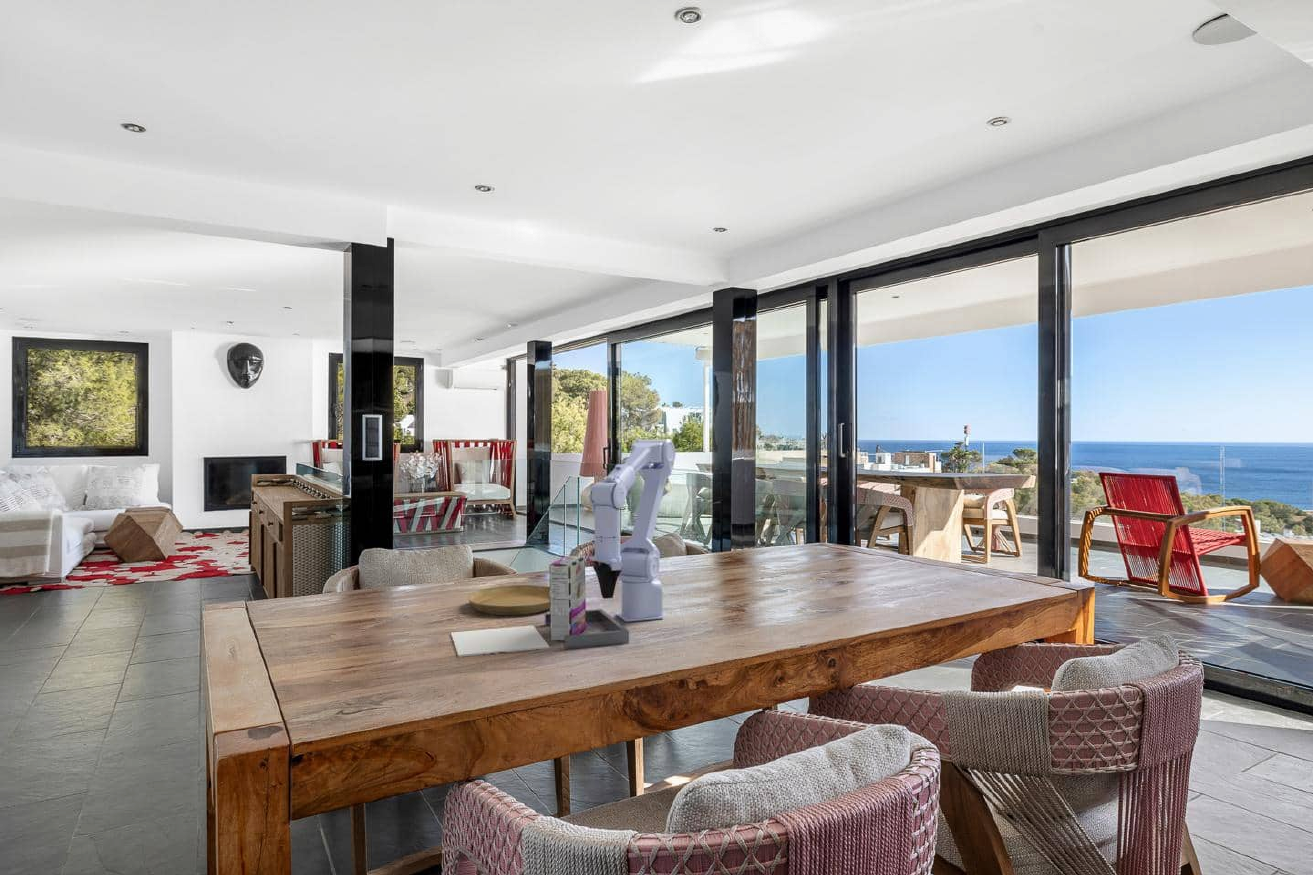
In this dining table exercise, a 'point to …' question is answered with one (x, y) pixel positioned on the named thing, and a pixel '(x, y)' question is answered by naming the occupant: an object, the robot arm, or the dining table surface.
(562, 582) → the candy bar box
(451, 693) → the dining table surface
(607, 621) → the gray u-shaped frame
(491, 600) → the plant saucer
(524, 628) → the mat
